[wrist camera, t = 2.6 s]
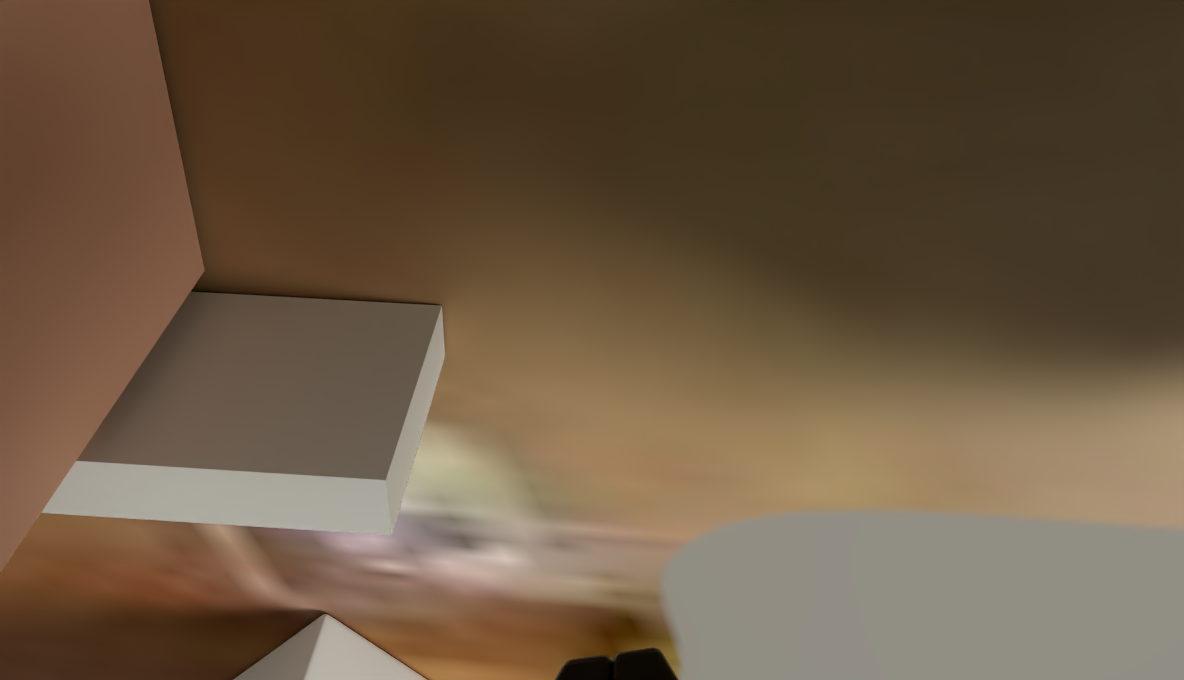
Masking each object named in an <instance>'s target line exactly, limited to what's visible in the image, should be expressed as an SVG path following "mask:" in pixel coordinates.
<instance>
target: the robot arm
mask: <svg viewBox="0 0 1184 680" xmlns="http://www.w3.org/2000/svg"><path fill="white" fill-rule="evenodd" d="M555 680H678V678H677V677H676V675H675V673H674V671H673V670H672V668H671V666H670V665H669V663H668V661H667V660H666V658H665V656H664V655H663V653H662V652H661V651H660V650H659V649H657V648H645V649H638V650H631V651H625V652H620V653H618V654H617V655H615V658H614V660H613V659H612V658H611V657H610V656H608V655H597V656H590V657H584V658H577V659H572V660H569V661H567V662H566V663H565V664H564V666H563V667H562V668H561V670H560V672H559V674H558V675H557V677H556V679H555Z"/></svg>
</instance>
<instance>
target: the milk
mask: <svg viewBox="0 0 1184 680" xmlns="http://www.w3.org/2000/svg"><path fill="white" fill-rule="evenodd" d="M233 680H427V679H426V678H424V677H423V676H421V675H419V674H418V673H416V672H415V671H413V670H412V669H410V668H409V667H407V666H406V665H404V664H403V663H401V662H400V661H398V660H397V659H395V658H394V657H392V656H391V655H389V654H388V653H386V652H385V651H383V650H382V649H380V648H378V647H377V646H375V645H374V644H372V643H371V642H369V641H368V640H366V639H365V638H363V637H362V636H360V635H359V634H357V633H356V632H354V631H353V630H351V629H350V628H348V627H347V626H345V625H344V624H342V623H341V622H339V621H337V620H336V619H334V618H333V617H331V616H330V615H328V614H323V615H322V616H320V617H319V618H318V619H316V620H315V621H313V622H312V623H311V624H309V625H308V626H307V627H305V628H304V629H302V630H301V631H300V632H298V633H297V634H295V635H294V636H293V637H291V638H290V639H289V640H287V641H286V642H284V643H283V644H282V645H280V646H279V647H278V648H276V649H275V650H273V651H272V652H271V653H269V654H268V655H266V656H265V657H264V658H262V659H261V660H260V661H258V662H257V663H255V664H254V665H253V666H251V667H250V668H248V669H247V670H246V671H244V672H243V673H242V674H240V675H239V676H237V677H236V678H235V679H233Z"/></svg>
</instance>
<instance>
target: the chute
mask: <svg viewBox="0 0 1184 680" xmlns="http://www.w3.org/2000/svg"><path fill="white" fill-rule="evenodd" d="M444 358H445V347H444V331H443V316H442V306H439V305H421V304H403V303H385V302H367V301H350V300H332V299H314V298H296V297H278V296H260V295H243V294H225V293H207V292H190V293H189V295H188V296H187V297H186V299H185V300H184V302H183V303H182V305H181V306H180V308H179V309H178V311H177V312H176V314H175V315H174V317H173V318H172V320H171V321H170V323H169V324H168V326H167V327H166V329H165V330H164V332H163V333H162V334H161V336H160V337H159V339H158V340H157V342H156V343H155V345H154V346H153V348H152V349H151V351H150V352H149V354H148V355H147V357H146V358H145V360H144V361H143V363H142V364H141V366H140V367H139V368H138V370H137V371H136V373H135V374H134V376H133V377H132V379H131V380H130V382H129V383H128V385H127V386H126V388H125V389H124V391H123V392H122V394H121V395H120V397H119V398H118V400H117V401H116V403H115V404H114V405H113V407H112V408H111V410H110V411H109V413H108V414H107V416H106V417H105V419H104V420H103V422H102V423H101V425H100V426H99V428H98V429H97V431H96V432H95V434H94V435H93V437H92V438H91V439H90V441H89V442H88V444H87V445H86V447H85V448H84V450H83V451H82V453H81V454H80V456H79V457H78V459H77V460H76V462H75V463H74V465H73V466H72V468H71V469H70V471H69V472H68V474H67V475H66V476H65V478H64V479H63V481H62V482H61V484H60V485H59V487H58V488H57V490H56V491H55V493H54V494H53V496H52V497H51V499H50V500H49V502H48V503H47V505H46V506H45V508H44V509H43V511H42V512H41V513H53V514H69V515H85V516H100V517H116V518H131V519H147V520H162V521H178V522H194V523H209V524H225V525H240V526H256V527H271V528H287V529H302V530H318V531H334V532H349V533H365V534H380V535H392V533H393V530H394V526H395V523H396V520H397V516H398V513H399V509H400V506H401V503H402V499H403V496H404V493H405V489H406V486H407V483H408V479H409V476H410V472H411V469H412V466H413V462H414V459H415V456H416V452H417V449H418V445H419V442H420V439H421V435H422V432H423V429H424V425H425V422H426V419H427V415H428V412H429V408H430V405H431V402H432V398H433V395H434V392H435V388H436V385H437V381H438V378H439V375H440V371H441V368H442V365H443V361H444Z"/></svg>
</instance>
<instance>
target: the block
mask: <svg viewBox="0 0 1184 680" xmlns="http://www.w3.org/2000/svg"><path fill="white" fill-rule="evenodd" d="M204 271H205V269H204V265H203V260H202V255H201V250H200V245H199V240H198V236H197V231H196V226H195V221H194V216H193V211H192V207H191V202H190V197H189V192H188V187H187V182H186V178H185V173H184V168H183V163H182V158H181V153H180V149H179V144H178V139H177V134H176V129H175V124H174V120H173V115H172V110H171V105H170V100H169V95H168V91H167V86H166V81H165V76H164V71H163V66H162V62H161V57H160V52H159V47H158V42H157V37H156V33H155V28H154V23H153V18H152V13H151V8H150V4H149V0H0V573H1V571H2V570H3V568H4V567H5V565H6V564H7V562H8V561H9V559H10V558H11V556H12V555H13V553H14V552H15V550H16V549H17V547H18V546H19V545H20V543H21V542H22V540H23V539H24V537H25V536H26V534H27V533H28V531H29V530H30V528H31V527H32V525H33V524H34V522H35V521H36V519H37V518H38V516H39V515H40V513H41V512H42V511H43V509H44V508H45V506H46V505H47V503H48V502H49V500H50V499H51V497H52V496H53V494H54V493H55V491H56V490H57V488H58V487H59V485H60V484H61V482H62V481H63V479H64V478H65V476H66V475H67V474H68V472H69V471H70V469H71V468H72V466H73V465H74V463H75V462H76V460H77V459H78V457H79V456H80V454H81V453H82V451H83V450H84V448H85V447H86V445H87V444H88V442H89V441H90V439H91V438H92V437H93V435H94V434H95V432H96V431H97V429H98V428H99V426H100V425H101V423H102V422H103V420H104V419H105V417H106V416H107V414H108V413H109V411H110V410H111V408H112V407H113V405H114V404H115V403H116V401H117V400H118V398H119V397H120V395H121V394H122V392H123V391H124V389H125V388H126V386H127V385H128V383H129V382H130V380H131V379H132V377H133V376H134V374H135V373H136V371H137V370H138V368H139V367H140V366H141V364H142V363H143V361H144V360H145V358H146V357H147V355H148V354H149V352H150V351H151V349H152V348H153V346H154V345H155V343H156V342H157V340H158V339H159V337H160V336H161V334H162V333H163V332H164V330H165V329H166V327H167V326H168V324H169V323H170V321H171V320H172V318H173V317H174V315H175V314H176V312H177V311H178V309H179V308H180V306H181V305H182V303H183V302H184V300H185V299H186V297H187V296H188V295H189V293H190V292H191V290H192V289H193V287H194V286H195V284H196V283H197V281H198V280H199V278H200V277H201V275H202V274H203V272H204Z"/></svg>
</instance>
